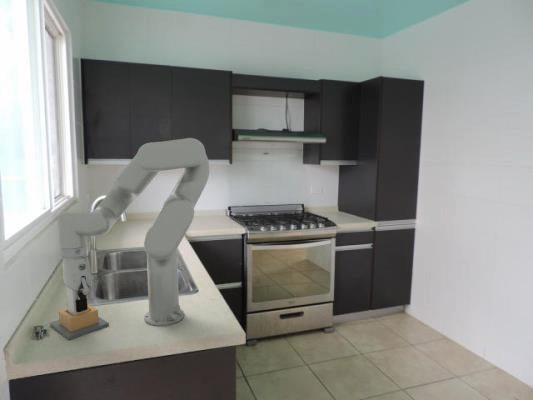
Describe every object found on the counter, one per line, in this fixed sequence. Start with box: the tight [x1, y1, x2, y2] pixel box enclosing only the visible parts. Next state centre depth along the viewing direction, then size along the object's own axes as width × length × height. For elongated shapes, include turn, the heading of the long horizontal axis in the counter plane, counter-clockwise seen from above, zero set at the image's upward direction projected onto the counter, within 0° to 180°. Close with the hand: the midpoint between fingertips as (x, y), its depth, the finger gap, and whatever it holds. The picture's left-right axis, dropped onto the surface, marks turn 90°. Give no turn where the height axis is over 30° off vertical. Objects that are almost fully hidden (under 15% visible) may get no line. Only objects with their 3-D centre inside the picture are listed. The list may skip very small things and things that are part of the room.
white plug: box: [65, 285, 89, 316], centre depth 118 cm, size 4×4×10 cm
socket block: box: [49, 303, 110, 341], centre depth 119 cm, size 14×12×5 cm
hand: (78, 308), depth 118 cm, fingers closed on white plug, 4 cm apart
